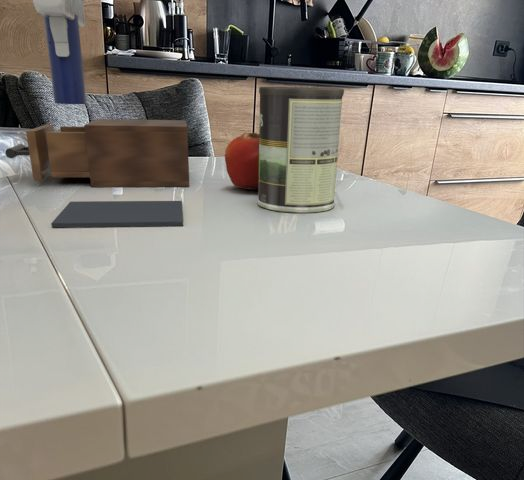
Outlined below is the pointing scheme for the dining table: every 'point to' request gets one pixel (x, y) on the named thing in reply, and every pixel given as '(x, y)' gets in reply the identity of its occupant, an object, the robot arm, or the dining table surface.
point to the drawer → (55, 152)
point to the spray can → (67, 67)
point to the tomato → (243, 161)
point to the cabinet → (137, 153)
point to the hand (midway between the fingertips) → (67, 57)
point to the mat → (120, 214)
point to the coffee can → (298, 148)
